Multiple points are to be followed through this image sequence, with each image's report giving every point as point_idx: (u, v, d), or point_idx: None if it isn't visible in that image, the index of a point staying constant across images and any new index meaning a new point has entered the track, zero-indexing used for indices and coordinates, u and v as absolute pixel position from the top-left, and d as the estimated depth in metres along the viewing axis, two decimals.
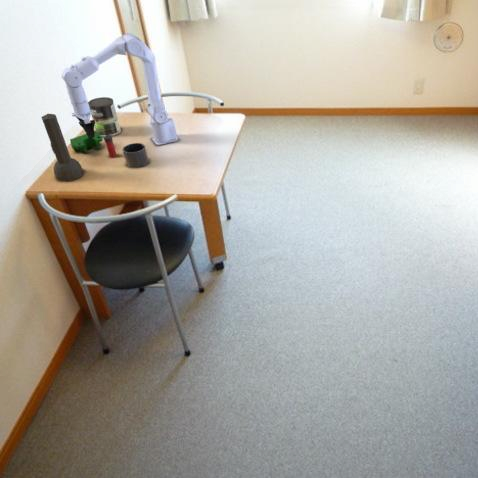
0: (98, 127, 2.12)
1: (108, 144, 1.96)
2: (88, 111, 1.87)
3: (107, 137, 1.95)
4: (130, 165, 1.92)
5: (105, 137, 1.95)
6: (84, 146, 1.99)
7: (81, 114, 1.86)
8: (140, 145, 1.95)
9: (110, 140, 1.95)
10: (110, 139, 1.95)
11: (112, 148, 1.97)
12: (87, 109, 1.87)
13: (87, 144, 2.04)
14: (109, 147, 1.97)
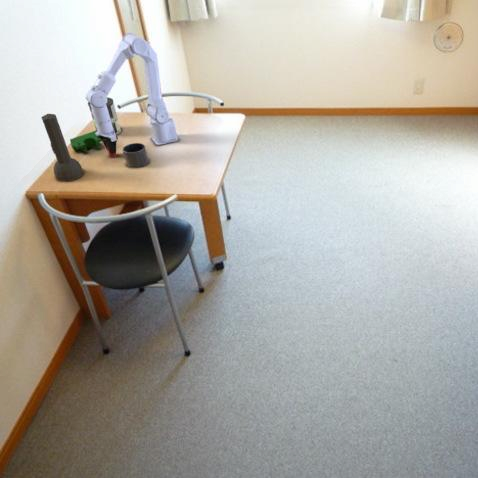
0: None
1: None
2: (112, 129, 1.93)
3: None
4: (130, 165, 1.92)
5: (105, 137, 1.95)
6: (84, 146, 1.99)
7: (106, 133, 1.91)
8: (140, 145, 1.95)
9: None
10: None
11: None
12: (111, 127, 1.92)
13: (87, 144, 2.04)
14: None
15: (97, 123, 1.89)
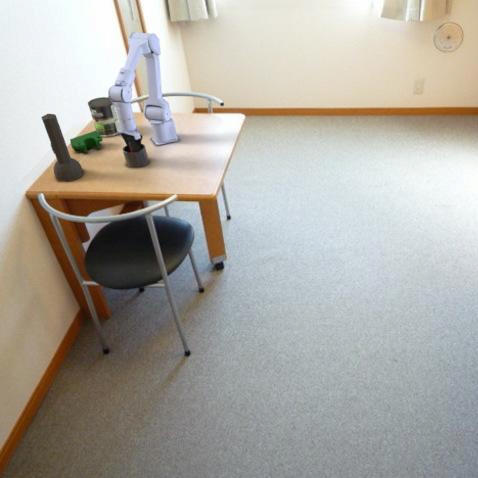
0: (98, 127, 2.12)
1: None
2: (135, 127, 1.86)
3: None
4: (130, 165, 1.92)
5: None
6: (84, 146, 1.99)
7: (129, 130, 1.85)
8: None
9: None
10: None
11: None
12: (134, 125, 1.86)
13: (87, 144, 2.04)
14: None
15: (120, 120, 1.82)
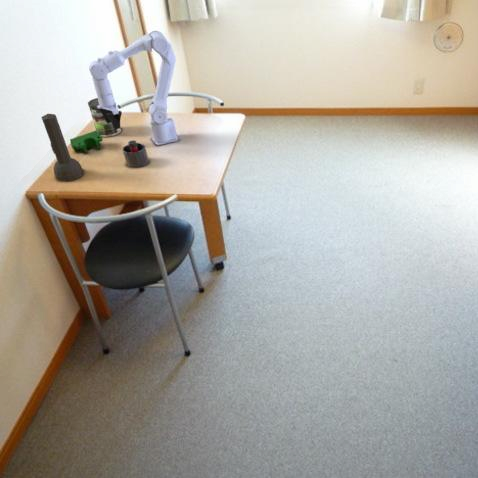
0: (98, 127, 2.12)
1: (133, 149, 1.91)
2: (113, 103, 1.93)
3: (132, 142, 1.90)
4: (130, 165, 1.92)
5: (130, 142, 1.90)
6: (84, 146, 1.99)
7: (108, 106, 1.91)
8: (140, 145, 1.95)
9: (135, 145, 1.90)
10: (135, 144, 1.90)
11: None
12: (113, 101, 1.92)
13: (87, 144, 2.04)
14: None
15: (99, 96, 1.89)
